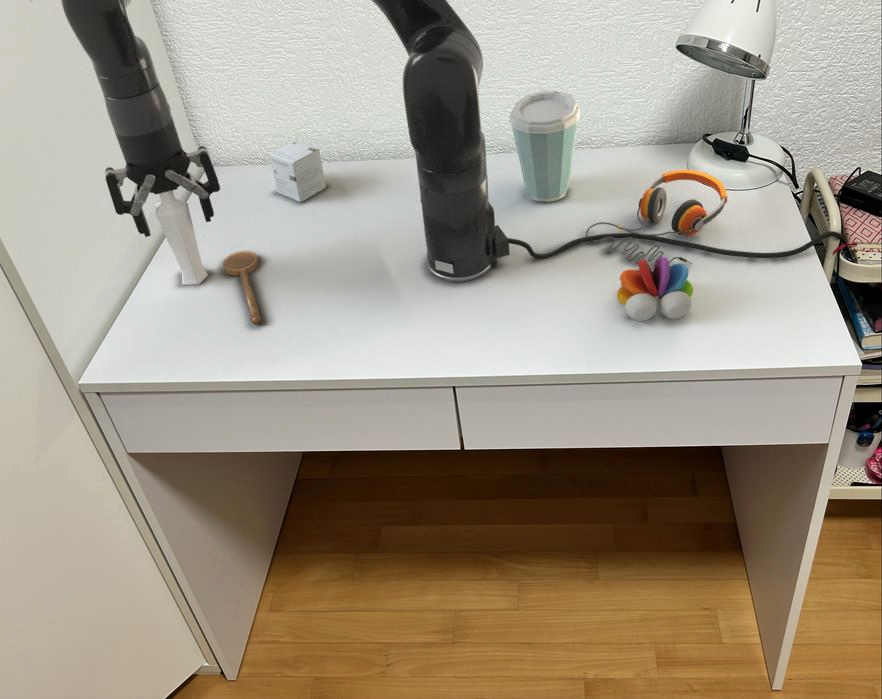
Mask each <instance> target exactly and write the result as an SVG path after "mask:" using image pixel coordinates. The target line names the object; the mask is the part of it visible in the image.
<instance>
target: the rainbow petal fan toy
mask: <svg viewBox="0 0 882 699" xmlns="http://www.w3.org/2000/svg"><path fill="white" fill-rule="evenodd" d="M657 258H658V257H657ZM669 261H670V260H669V258H667V257H665V256H661V257H660V258H658V260H657V261H656V264H655V266H654V265H653V270H652V268H651V265H650V264H649V263H648V262H649V261H648V260H646V259H645V258H644V259H642V258H640V259H639V260H638V263H637V266H638V267H631V268H629V269H625V270H623V271H622V272H621V273H620V276H619V280H620V287H619V288H618V290H617V292H616V298H617V301H618V303H620V304H621V305H622V306H624V307H625V308H624V309H625V312H626V314H627V315H628V317H630V318H631V319H633V320H634V321H638V322H644V321H648V320H649V319H652V318H653V317H654V315H655V314H656V313H657V310H658V309H659V311H660V312H661V314H662V315H663V316H664V317H666V318H668V319H671V320H678V319H681V318H683V317H685V316H686V315H687V314H688V313H689V311H690V310H691V307H692V299H691V297H692V295H693V294H694V286H693V284H692V282H691V281H690V280H689V279H688V277H689V268H688V266H686V265H685V264H684V263H674V264H671V263H669ZM657 297H658V300H659V303H658V301H657V299H656V298H657Z"/></svg>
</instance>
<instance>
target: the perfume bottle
mask: <svg viewBox="0 0 882 699" xmlns="http://www.w3.org/2000/svg"><path fill="white" fill-rule="evenodd" d="M158 195H159V198H160V201H159V202H157V203H156V205H155V215H156V218H157V221H158V222H159V225H160V227H161V230H162V232H163V234H164V237H165V238H166V241H167V243H168V245H169V248H170V251H171V253H172V255H173V257H174V259H175V262H176V264H177V266H178V269H179V271H180V273H181V281H182V285H183V286H187V285H188V286H189V285H191V286H192V285H200V284H201V283H202V282H203V281H204V280H205V279H206V278H207V277H209V276H208V275H209V274H208V273H207V271H206V270H205V268H204V267H203V264H202V259H201V255H200V251H199V246H198V242H197V237H196V233H195V229H194V224H193V220H192V215H191V211H190V207H189V203H188V202H187V201H186V200H183V199H180V198H179V197H176V196H175V194H174V190H172V191H164V192H162V193H160V194H158Z"/></svg>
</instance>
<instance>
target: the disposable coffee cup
mask: <svg viewBox="0 0 882 699" xmlns="http://www.w3.org/2000/svg"><path fill="white" fill-rule="evenodd" d="M580 118H581V110H580V107H579V106H578V105H577V101H576V100H575V99H574V97H573V96H572V95H571V94H569V93H566V92H562V91H557V90H541V91H537V92H533V93H530V94H526V96H524V97H522V98H521V99H519V100H517V102H515V104H514V106H513V107H512V110H511V111H510V114H509V120H508V122H509V123H510V125H511V129H512V133H513V137H514V142H515V147H516V152H517V157H518V160H519V165H520V169H521V174H522V180H523V183H524V187H525V191H526V192H527V194H528V196H529V197H530V199H532V200H534V201H537V202H541V203H542V202H544V203H550V202H554V201H555V202H556V201H559V200H561V199H562V198H564V197H565V196H566V195H567V192H568V191H569V187H570V183H571V181H570V180H571V174H572V168H573V161H574V153H575V147H576V140H577V131H578V127H579V126H578V124H579V121H580Z"/></svg>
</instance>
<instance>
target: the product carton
mask: <svg viewBox="0 0 882 699" xmlns="http://www.w3.org/2000/svg"><path fill="white" fill-rule="evenodd" d="M268 156H269V160H270V165H271V169H272V174H273V179H274V183H275V188H276V192H277V193H278V194H280V195H283V196H285V197H287V198H290V199H292V200H294V201H296V202H298V203H302V202H304V201H306V200H308V199H309V198H311V197H312V196H315V195H316V194H317V193H320V192H321V191H323V190H325V189H326V188H327V185H326V178H325V172H324V168H323V163H322V162H323V161H322V158H321V151H320V148H317V147H315V146H312V145H311V144H309V143H304V142H302V141H299V140H296V139H294V140H293V141H291V142H289V143H287V144H285V145H283V146H282V147H280V148H277V149H275V150H273V151H272V152H270V153H269V154H268Z"/></svg>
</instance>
